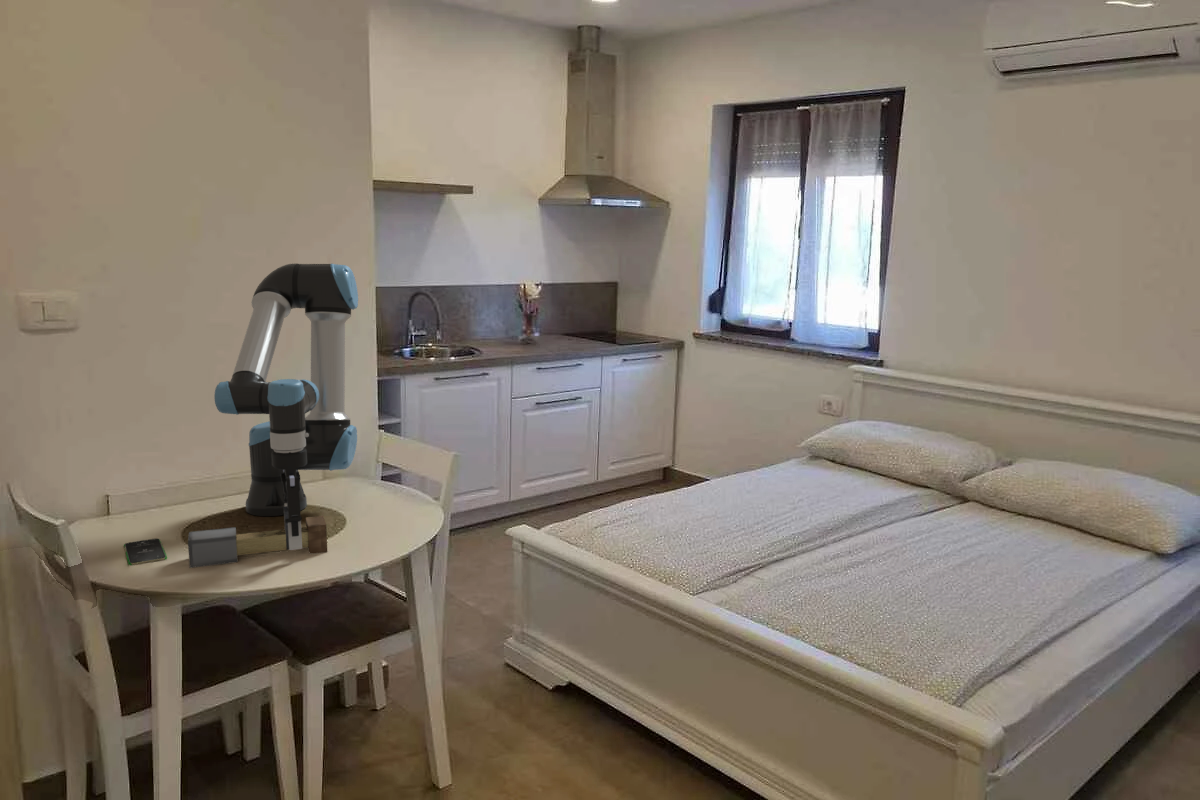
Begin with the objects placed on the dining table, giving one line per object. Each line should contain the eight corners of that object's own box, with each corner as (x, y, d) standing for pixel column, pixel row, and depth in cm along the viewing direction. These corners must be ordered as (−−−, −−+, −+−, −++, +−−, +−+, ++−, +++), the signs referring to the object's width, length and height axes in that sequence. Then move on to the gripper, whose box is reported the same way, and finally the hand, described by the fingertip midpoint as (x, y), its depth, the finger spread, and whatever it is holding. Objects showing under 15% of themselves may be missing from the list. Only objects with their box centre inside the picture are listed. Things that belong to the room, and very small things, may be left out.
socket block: (309, 554, 195) (308, 526, 194) (307, 544, 201) (305, 517, 200) (327, 551, 196) (326, 524, 195) (324, 542, 203) (323, 515, 201)
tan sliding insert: (232, 556, 190) (229, 517, 188) (232, 550, 193) (229, 511, 192) (319, 546, 197) (318, 508, 195) (318, 540, 200) (316, 503, 199)
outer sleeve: (189, 567, 186) (187, 541, 184) (191, 557, 191) (189, 532, 190) (237, 562, 189) (235, 536, 188) (237, 552, 195) (235, 527, 194)
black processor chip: (128, 563, 186) (122, 542, 198) (129, 567, 186) (123, 546, 198) (167, 557, 190) (159, 537, 202) (167, 561, 190) (159, 541, 202)
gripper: (311, 460, 183) (315, 555, 187) (302, 435, 205) (306, 520, 209) (273, 463, 180) (279, 559, 184) (268, 437, 202) (273, 523, 206)
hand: (293, 539), depth 196 cm, fingers open, 13 cm apart
